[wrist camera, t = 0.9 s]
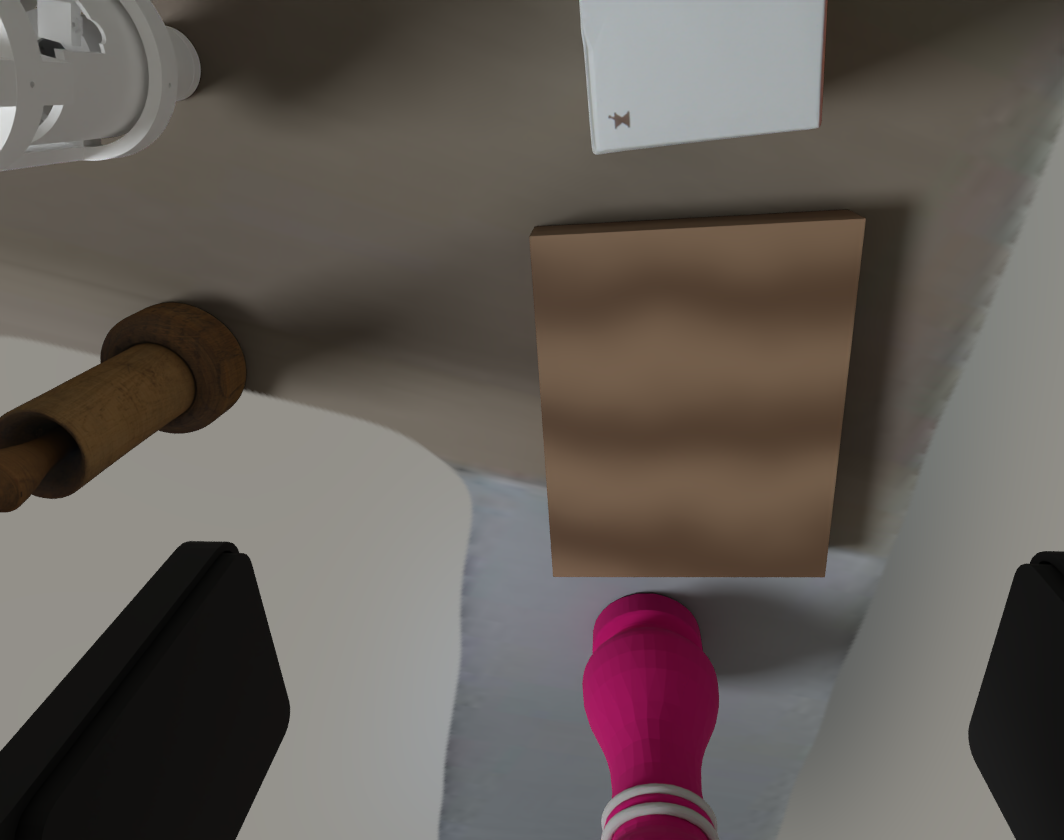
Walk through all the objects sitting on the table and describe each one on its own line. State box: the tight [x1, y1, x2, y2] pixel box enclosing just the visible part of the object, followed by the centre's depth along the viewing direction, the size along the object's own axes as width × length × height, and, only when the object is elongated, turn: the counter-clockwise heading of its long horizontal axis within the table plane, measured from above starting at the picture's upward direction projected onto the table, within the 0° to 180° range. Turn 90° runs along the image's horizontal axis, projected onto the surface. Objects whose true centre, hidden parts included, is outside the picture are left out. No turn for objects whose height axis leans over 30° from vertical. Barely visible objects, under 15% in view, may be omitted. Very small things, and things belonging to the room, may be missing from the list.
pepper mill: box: [583, 594, 719, 840], centre depth 34 cm, size 7×7×20 cm
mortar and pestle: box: [0, 303, 246, 512], centre depth 31 cm, size 7×6×18 cm
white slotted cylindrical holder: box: [0, 0, 201, 171], centre depth 26 cm, size 7×7×15 cm
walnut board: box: [529, 209, 866, 577], centre depth 36 cm, size 18×14×2 cm
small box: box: [579, 0, 828, 155], centre depth 24 cm, size 8×6×13 cm
